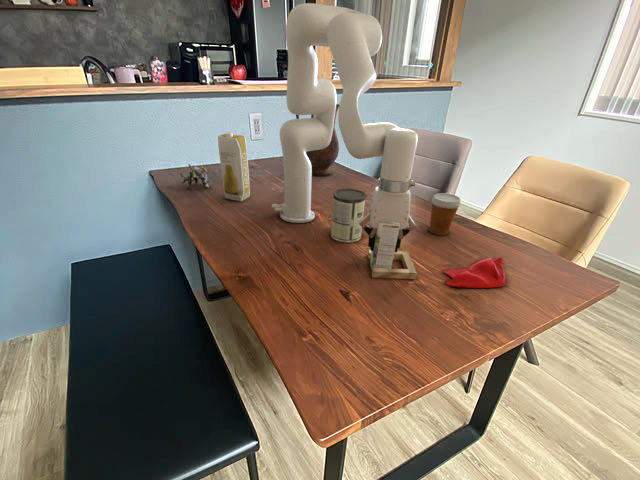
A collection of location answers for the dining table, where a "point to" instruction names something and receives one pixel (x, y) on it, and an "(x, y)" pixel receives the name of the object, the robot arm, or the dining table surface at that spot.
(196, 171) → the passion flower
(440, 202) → the disposable coffee cup
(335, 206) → the coffee can
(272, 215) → the dining table surface
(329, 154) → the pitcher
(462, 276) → the cloth
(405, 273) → the stop frame
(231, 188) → the juice carton
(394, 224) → the syrup box
